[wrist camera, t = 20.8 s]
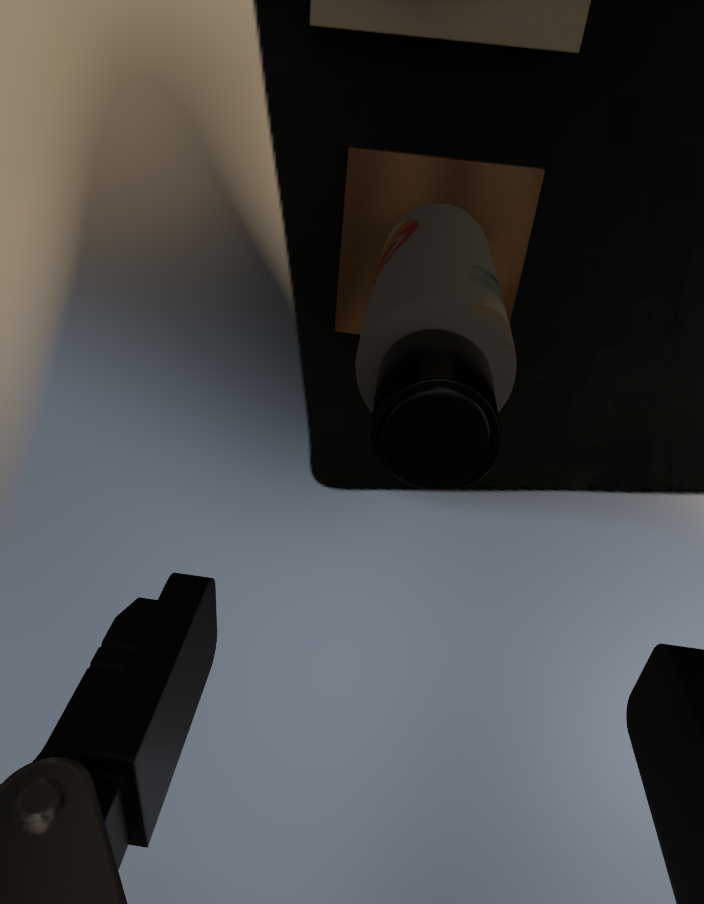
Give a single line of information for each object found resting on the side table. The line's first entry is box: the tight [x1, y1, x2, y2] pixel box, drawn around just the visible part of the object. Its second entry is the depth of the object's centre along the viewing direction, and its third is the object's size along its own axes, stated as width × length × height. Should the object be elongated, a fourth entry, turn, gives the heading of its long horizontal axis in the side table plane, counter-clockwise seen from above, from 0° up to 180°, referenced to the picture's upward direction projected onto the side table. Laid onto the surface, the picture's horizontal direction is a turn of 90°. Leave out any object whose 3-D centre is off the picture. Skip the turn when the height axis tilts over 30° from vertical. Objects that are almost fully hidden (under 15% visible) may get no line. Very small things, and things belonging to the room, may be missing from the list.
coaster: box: [335, 146, 545, 335], centre depth 36 cm, size 10×10×1 cm
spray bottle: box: [356, 203, 516, 490], centre depth 27 cm, size 6×6×20 cm
